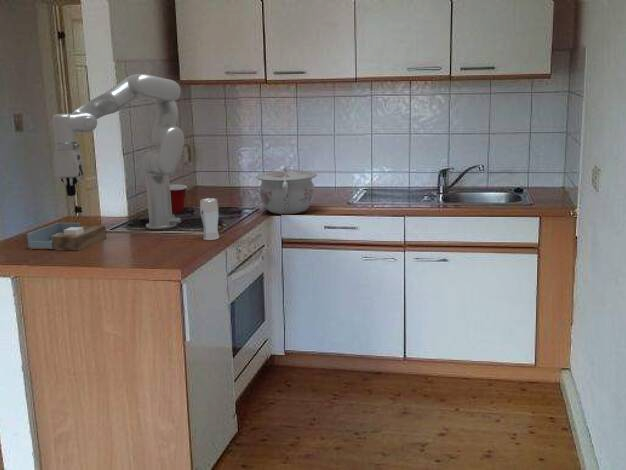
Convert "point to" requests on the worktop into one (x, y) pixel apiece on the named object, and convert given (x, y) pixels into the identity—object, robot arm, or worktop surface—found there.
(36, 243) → the box
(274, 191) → the chamber pot
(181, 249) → the worktop surface
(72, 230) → the tile
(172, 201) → the plastic cup
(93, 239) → the tan slab
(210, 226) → the beer glass
